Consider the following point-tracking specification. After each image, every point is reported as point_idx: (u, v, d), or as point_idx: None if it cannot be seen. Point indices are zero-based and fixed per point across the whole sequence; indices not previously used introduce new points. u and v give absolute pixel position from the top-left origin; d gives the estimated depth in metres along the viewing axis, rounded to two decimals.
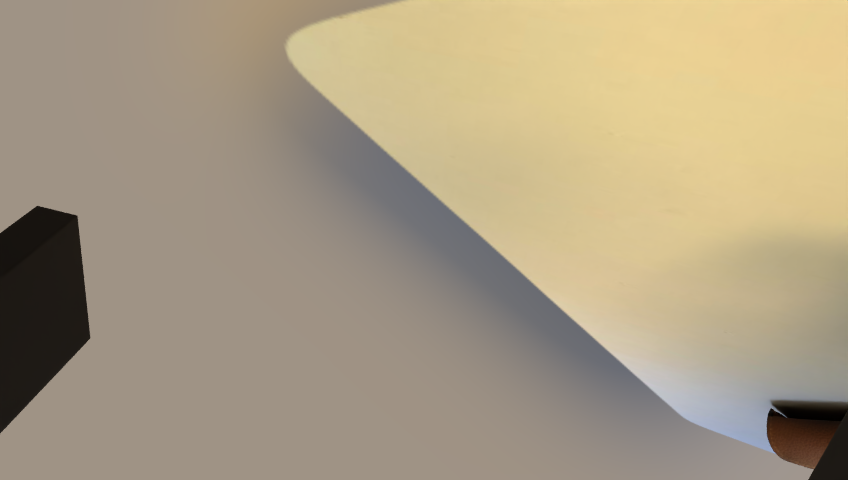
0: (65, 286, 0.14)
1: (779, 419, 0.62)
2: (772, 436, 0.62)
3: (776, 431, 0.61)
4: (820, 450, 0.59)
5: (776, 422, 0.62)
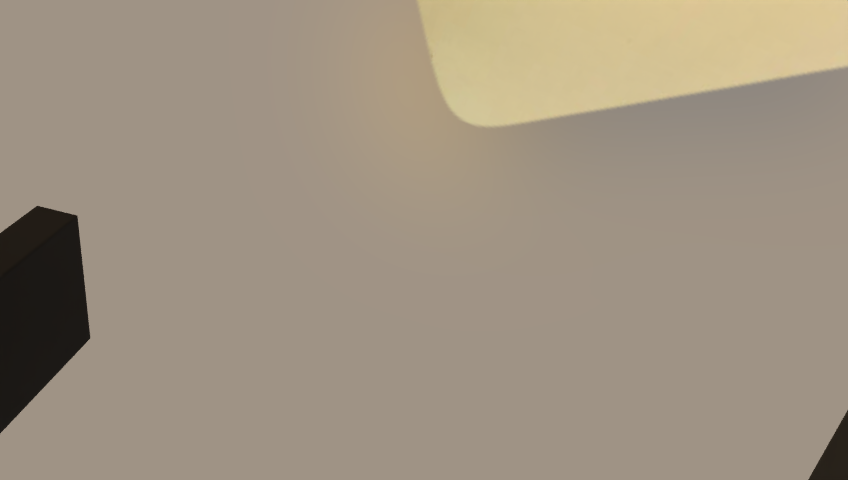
0: (65, 286, 0.14)
1: None
2: None
3: None
4: None
5: None
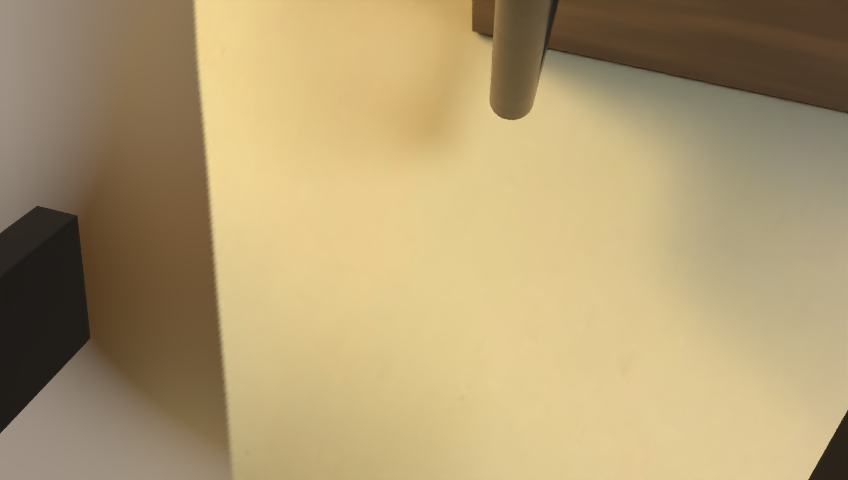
0: (65, 286, 0.14)
1: None
2: None
3: None
4: None
5: None
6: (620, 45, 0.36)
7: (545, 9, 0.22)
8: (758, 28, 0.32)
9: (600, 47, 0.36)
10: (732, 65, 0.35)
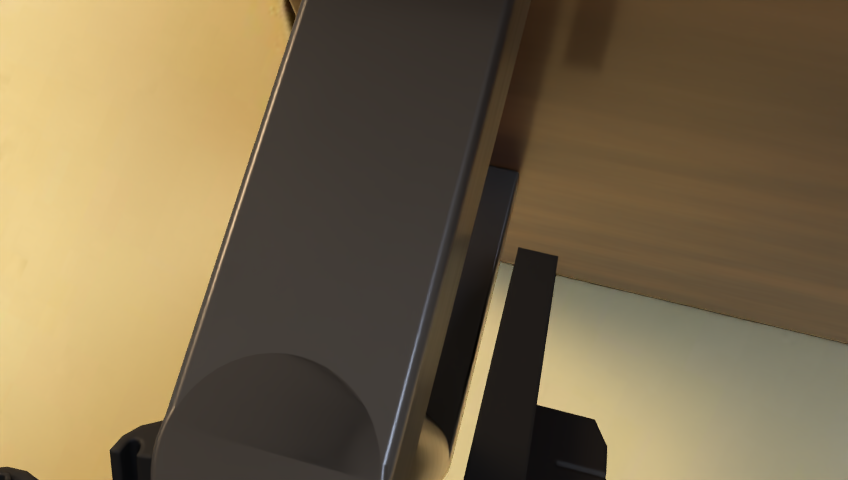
0: None
1: None
2: None
3: None
4: None
5: None
6: (610, 274, 0.23)
7: None
8: (837, 292, 0.19)
9: (580, 272, 0.24)
10: (787, 313, 0.22)
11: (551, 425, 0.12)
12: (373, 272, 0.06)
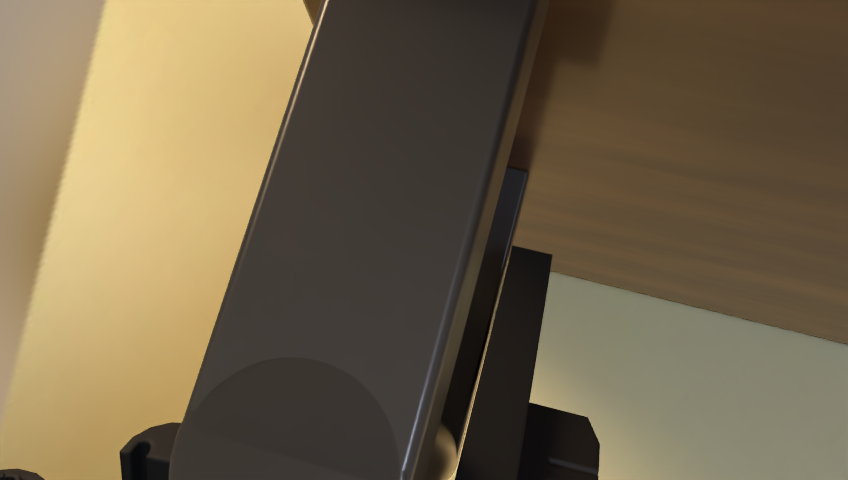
0: None
1: None
2: None
3: None
4: None
5: None
6: (617, 274, 0.23)
7: None
8: (845, 294, 0.19)
9: (587, 271, 0.23)
10: (794, 315, 0.22)
11: (544, 423, 0.12)
12: (393, 276, 0.05)
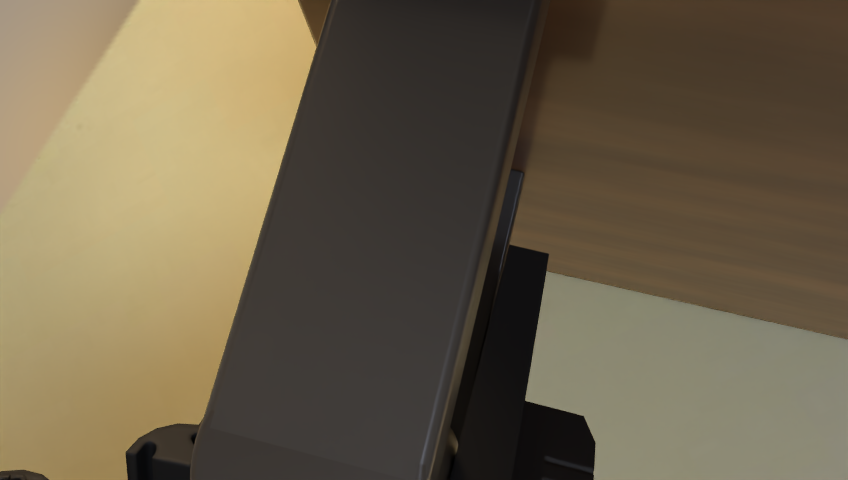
0: None
1: None
2: None
3: None
4: None
5: None
6: (612, 273, 0.23)
7: None
8: (838, 288, 0.19)
9: (582, 270, 0.24)
10: (788, 310, 0.22)
11: (540, 421, 0.12)
12: (407, 275, 0.06)
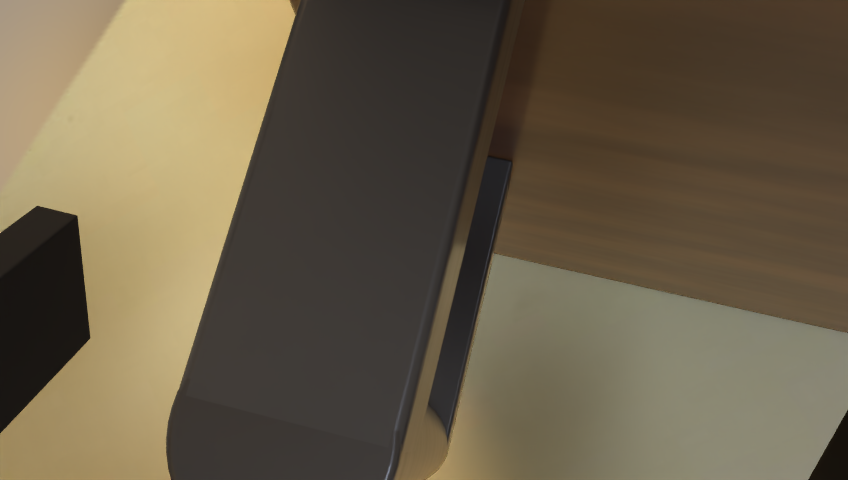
0: (65, 286, 0.14)
1: None
2: None
3: None
4: None
5: None
6: (602, 264, 0.23)
7: None
8: (826, 277, 0.19)
9: (572, 262, 0.24)
10: (777, 300, 0.22)
11: None
12: (382, 244, 0.06)
